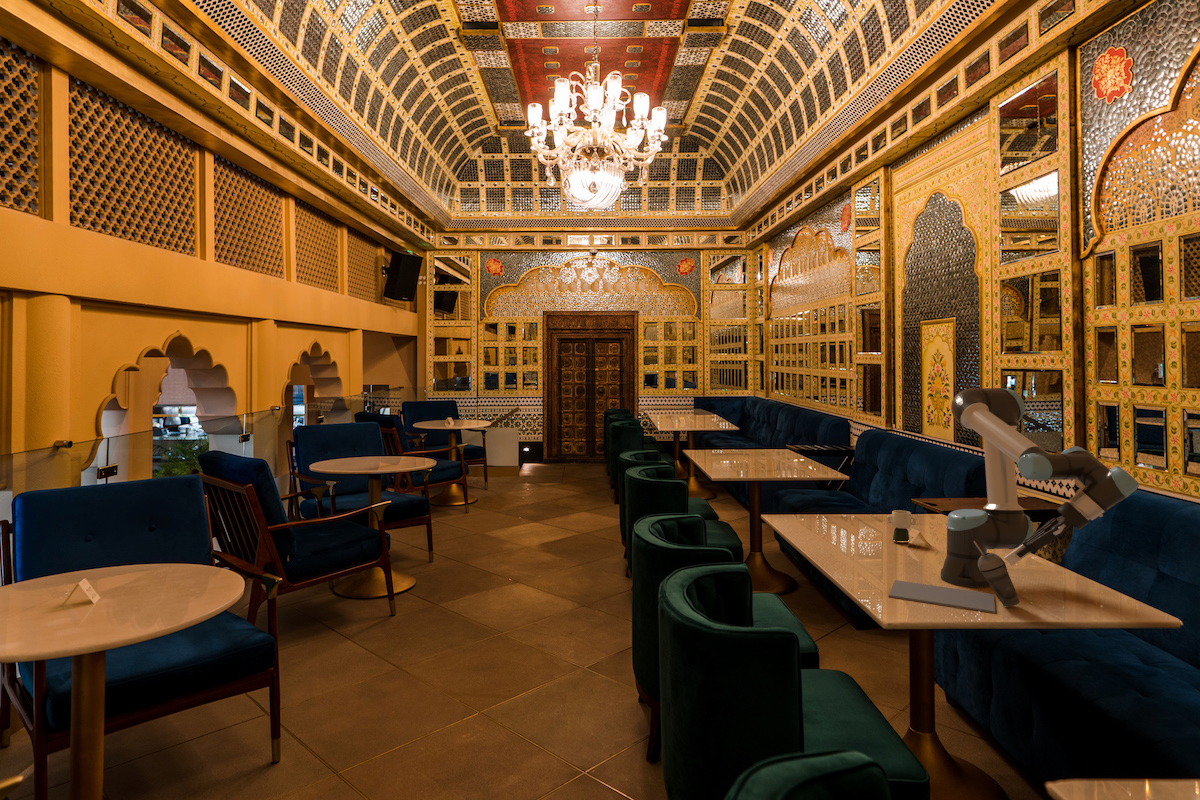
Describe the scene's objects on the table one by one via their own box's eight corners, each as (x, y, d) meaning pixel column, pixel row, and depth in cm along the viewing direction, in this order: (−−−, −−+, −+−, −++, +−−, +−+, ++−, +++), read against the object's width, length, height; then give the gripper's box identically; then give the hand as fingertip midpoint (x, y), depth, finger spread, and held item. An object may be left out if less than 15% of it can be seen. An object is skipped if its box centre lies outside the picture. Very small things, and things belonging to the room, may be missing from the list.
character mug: (914, 542, 268) (915, 511, 268) (916, 546, 262) (916, 514, 262) (886, 539, 272) (886, 509, 272) (887, 543, 266) (887, 512, 266)
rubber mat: (888, 597, 198) (888, 595, 198) (894, 581, 213) (894, 580, 213) (995, 613, 184) (995, 611, 184) (993, 596, 199) (993, 594, 199)
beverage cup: (1023, 606, 184) (988, 540, 187) (996, 611, 189) (963, 546, 192) (1026, 596, 189) (993, 533, 193) (1000, 601, 194) (968, 539, 197)
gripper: (1095, 525, 173) (1020, 577, 182) (1086, 517, 185) (1016, 567, 193) (1071, 503, 176) (998, 556, 184) (1064, 497, 187) (996, 547, 196)
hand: (1007, 561), depth 189 cm, fingers closed
